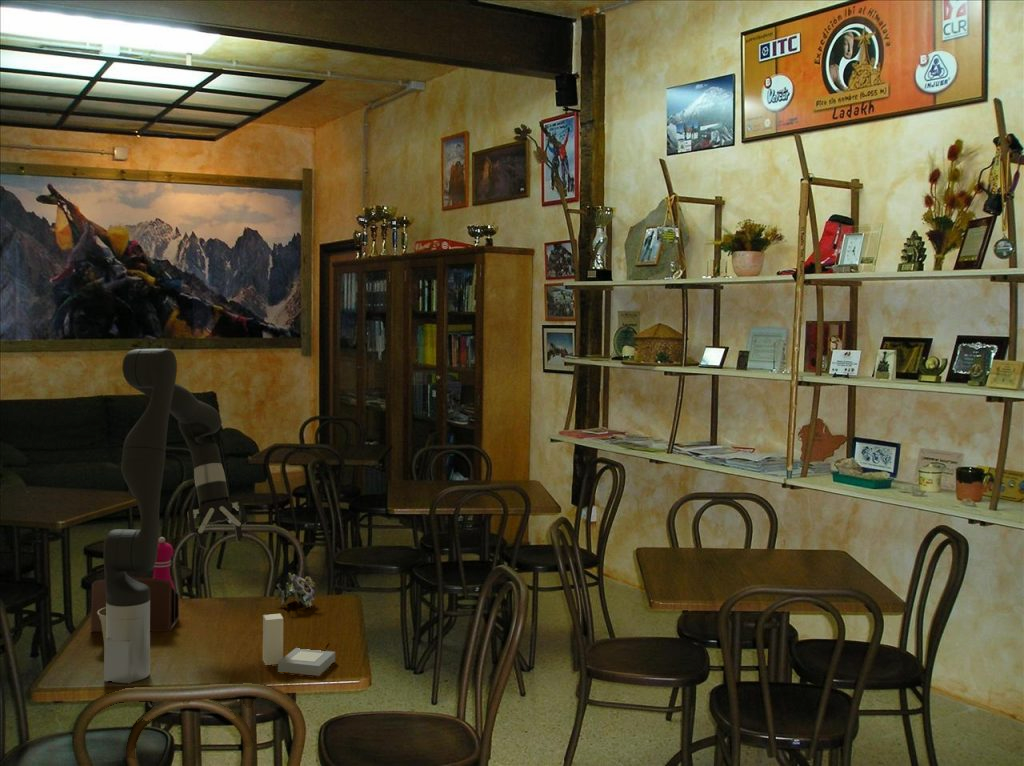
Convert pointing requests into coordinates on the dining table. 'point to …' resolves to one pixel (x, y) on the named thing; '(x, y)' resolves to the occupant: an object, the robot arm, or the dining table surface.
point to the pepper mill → (163, 561)
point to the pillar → (272, 638)
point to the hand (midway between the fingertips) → (222, 545)
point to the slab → (306, 661)
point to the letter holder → (161, 604)
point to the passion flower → (298, 590)
